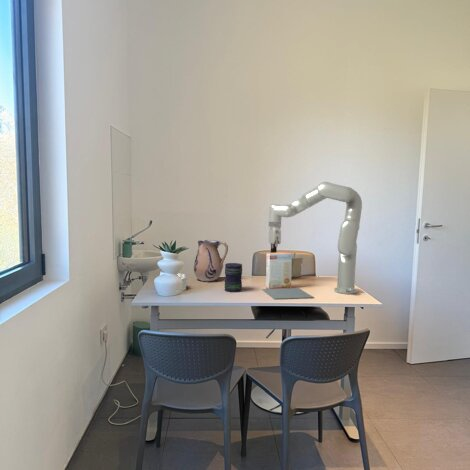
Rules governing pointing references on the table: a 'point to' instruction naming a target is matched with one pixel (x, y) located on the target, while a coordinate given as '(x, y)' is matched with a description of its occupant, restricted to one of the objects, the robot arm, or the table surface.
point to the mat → (287, 293)
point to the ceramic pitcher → (209, 260)
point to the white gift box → (182, 281)
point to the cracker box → (278, 270)
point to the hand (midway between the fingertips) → (273, 254)
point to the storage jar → (233, 277)
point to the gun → (296, 267)
